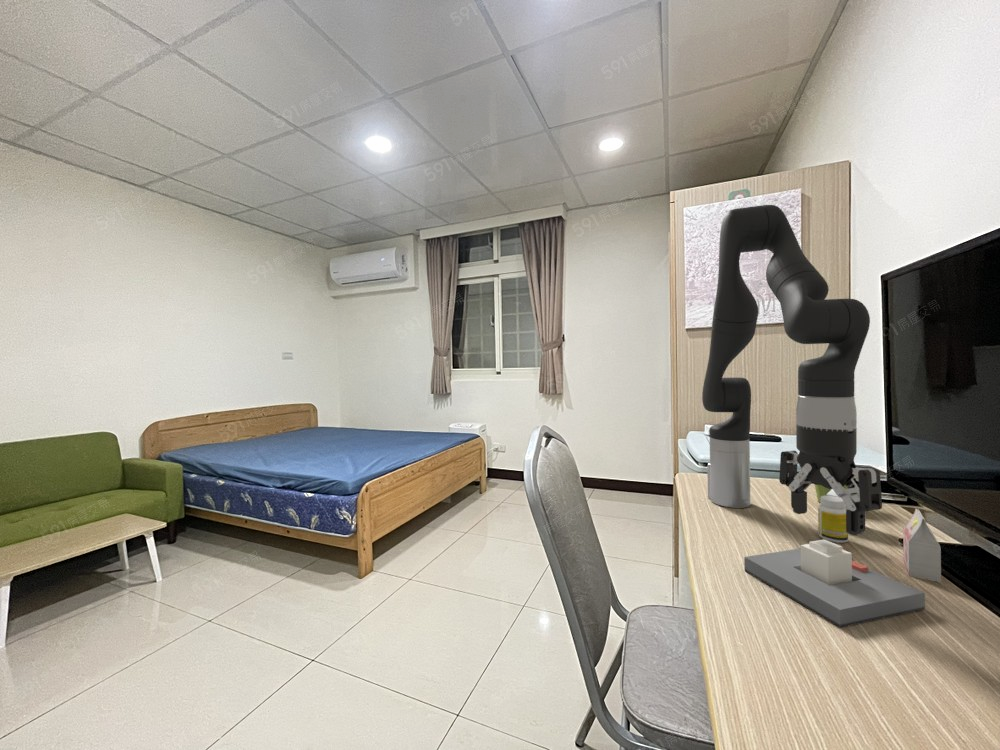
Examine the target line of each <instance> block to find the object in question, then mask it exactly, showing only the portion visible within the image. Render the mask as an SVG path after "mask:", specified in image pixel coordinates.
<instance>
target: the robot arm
mask: <svg viewBox="0 0 1000 750" xmlns="http://www.w3.org/2000/svg"><path fill="white" fill-rule="evenodd" d="M718 248H719V250H718V276H717V278H718V279H717V287H716V294H715V301H714V302H715V303H714V308H713V314H712V321H711V322H712V323H711V332H710V333H711V334H710V346H709V354H708V355H709V356H708V361H707V367H706V369H705V371H706V372H705V375H704V382H703V385H702V386H703V387H702V393H701V395H702V396H701V400H702V404H703V408H704V409H705V410H706V411H707V412H711V413H731V416H730V417H729V418H728V419H726V420H724V421H722V422H720V423H717V424H716V423H715V424H713V425H710V427H709V433H708V434H709V462H708V463H707V466H706V469H707V474H706V475H707V499H709V500H710V501H711V502H712V503H714V504H716V505H719V506H722V507H726V508H732V509H734V508H736V509H744V508H748V507H751V449H750V448H751V445H750V444H751V442H750V436H751V435H750V432H751V409H752V407H751V406H752V389H751V384H750V382H749V380H748V379H747V378H745V377H723V376H724V375H725V372H726V371H727V370H726V369H727V368H728V367H729V366H730V364H731V363H732V361H734V360H735V358H737V357H738V355H740V353H741V352H743V350H744V349H746V347H747V346H748V345H749V344H750V343H751V341H752V340H753V338H754V336H755V333H756V330H757V322H758V317H759V306H758V303H757V300H756V299H755V297H754V295H753V293H752V292H751V290H750V289H749V287H748V286H747V284H746V282H745V280H744V279H743V276H742V273H741V269H740V268H741V267H740V256H741V253H750V252H751V253H752V252H759V251H764V250H768V251H769V252H771V253H772V256H771V258H770V260H769V261H768V264H767V267H766V272H765V278H766V283H767V285H768V287H769V289H770V290H771V292H772V294H774V296H775V297H776V299H777V300H778V302H779V304H780V308H781V309H780V310H781V314H782V319H783V320H782V321H783V328H784V331H785V334H786V335H787V337H788V338H790V339H791V340H792V341H793V342H796V343H797V344H802V345H820V344H823V345H824V344H828V346H827V348H826V350H825V352H824V353H823V354H822V355H821V356H819V357H815V358H811V359H806V360H804V361H801V362H800V364H799V366H798V370H797V402H796V411H795V412H796V413H795V415H796V416H795V418H796V421H795V423H796V424H795V426H796V427H795V428H796V433H795V434H796V437H795V440H796V442H795V443H796V449H797V450H798V451H799V453H798V451H796V450H786V451H781V452H780V460H779V483H780V485H785V486H787V488H788V490H789V491H790V506H791V509H792V511H793V513H795V514H797V515H803V514H807V512H808V492H807V491H806V490H807V489H808V488H809V487H810V486H811V484H812V485H814V486H815V485H822V486H823V487H825V488H828V489H833V490H834V492H835V493H836V495H837V496H839V497H841V498H842V500H843V501H844V503H845V504H846V506H847V507H848V509H847V510H846V532H847V533H848V535H852V536H857V535H862V533H863V532H865V530H866V519H865V512H870V511H876V510H877V511H878V510H882V508H883V501H882V500H883V499H882V497H883V496H882V485H881V484H882V483H881V473H880V471H879V469H877V468H862V467H858V466H857V465H856V463H855V457H856V455H857V431H858V430H857V429H858V428H857V424H858V423H857V416H858V415H857V407H856V406H857V405H856V401H855V371H856V367H857V364H858V361H859V360H860V356H861V353H862V350H863V346H864V344H865V341H866V338H867V335H868V333H869V329H870V324H871V317H870V313H869V310H868V308H867V307H866V306H865V305H864V303H863V302H861V301H860V300H858V299H855V298H833V299H831V298H830V299H829V298H828V299H826V298H827V296H828V294H829V290H830V288H829V285H828V282H827V281H826V279H825V278H824V277H823V276H822V275H821V273H820V271H818V269H817V268H815V266H814V265H813V264H812V263H811V262H810V260H808V258H807V257H806V255H805V253H804V252H803V250H802V249H801V246H800V243H799V241H798V239H797V237H796V234H795V232H794V229H793V228H792V226H791V224H790V221H789V219H788V218H787V216H786V214H785V213H784V211H783V210H782V209H781V208H780V207H779V206H778V205H774V204H762V205H755V206H748V207H738V208H733V209H730V210H728V211H727V212H726V213H725V215H724V216H723V218H722V222H721V225H720V233H719V247H718ZM798 466H799V467H800V468H801V469H800V471H799V472H798ZM853 477H854V478H855V477H856V478H855V480H854V479H853ZM856 482H858V484H857V483H856ZM845 485H846V486H847V488H848V489H845V488H843V487H844V486H845Z"/></svg>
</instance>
